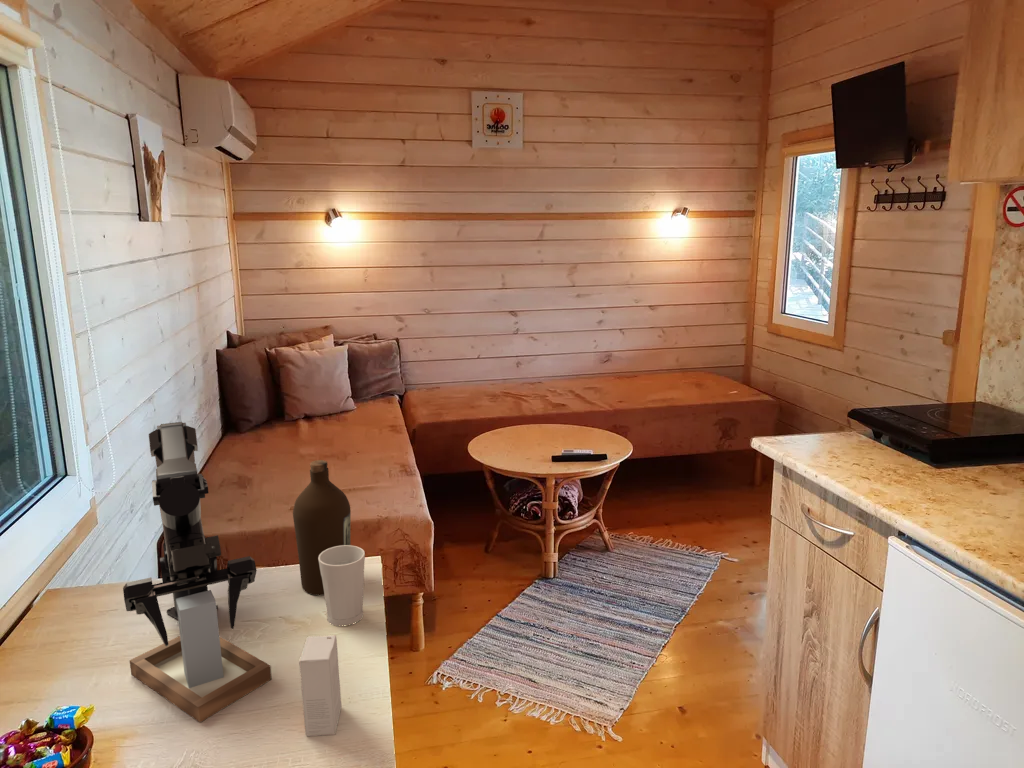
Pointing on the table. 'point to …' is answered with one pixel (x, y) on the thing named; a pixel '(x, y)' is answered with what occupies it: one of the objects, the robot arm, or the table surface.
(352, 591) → the cup
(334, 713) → the skincare box
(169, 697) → the wooden frame
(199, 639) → the tall grey pillar block
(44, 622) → the table surface
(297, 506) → the olive oil
